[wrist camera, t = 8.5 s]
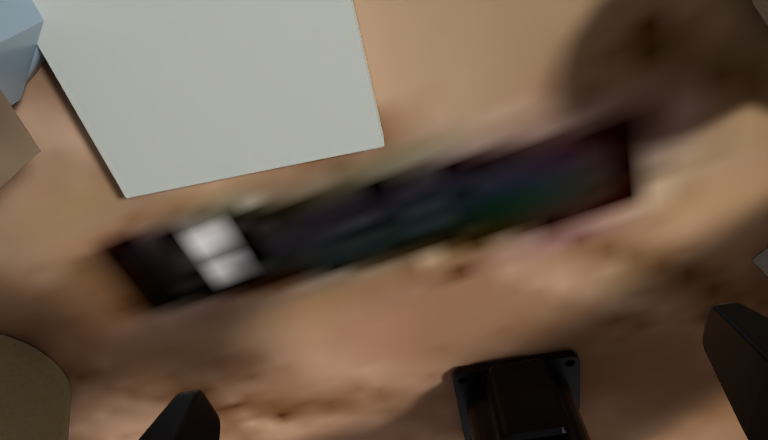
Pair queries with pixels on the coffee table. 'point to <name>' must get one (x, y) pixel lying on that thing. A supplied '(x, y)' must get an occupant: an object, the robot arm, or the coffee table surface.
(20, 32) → the bowl
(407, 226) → the coffee table surface
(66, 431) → the plant pot
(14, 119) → the lid
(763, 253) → the tall grey upright box
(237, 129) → the mat
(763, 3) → the ceramic mug
